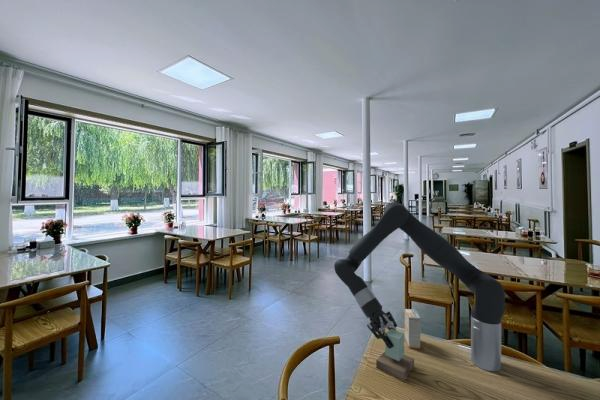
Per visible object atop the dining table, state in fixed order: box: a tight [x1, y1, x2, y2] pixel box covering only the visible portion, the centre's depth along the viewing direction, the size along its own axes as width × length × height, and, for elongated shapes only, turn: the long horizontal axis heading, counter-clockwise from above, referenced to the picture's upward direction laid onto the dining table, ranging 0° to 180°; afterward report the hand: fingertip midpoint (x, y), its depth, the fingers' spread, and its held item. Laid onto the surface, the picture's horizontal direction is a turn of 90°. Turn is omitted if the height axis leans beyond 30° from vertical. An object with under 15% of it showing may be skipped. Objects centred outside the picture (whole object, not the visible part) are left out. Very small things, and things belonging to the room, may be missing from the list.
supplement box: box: [404, 308, 421, 350], centre depth 110 cm, size 8×5×13 cm, turn 168°
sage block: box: [385, 329, 405, 361], centre depth 94 cm, size 5×5×8 cm
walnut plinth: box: [375, 350, 415, 382], centre depth 95 cm, size 10×10×3 cm
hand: (395, 344), depth 94 cm, fingers closed on sage block, 5 cm apart
